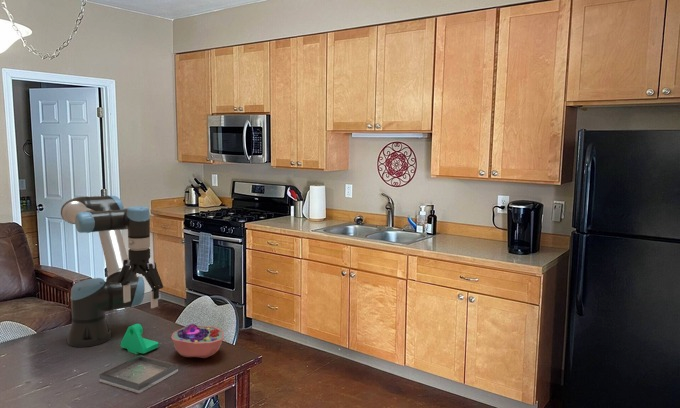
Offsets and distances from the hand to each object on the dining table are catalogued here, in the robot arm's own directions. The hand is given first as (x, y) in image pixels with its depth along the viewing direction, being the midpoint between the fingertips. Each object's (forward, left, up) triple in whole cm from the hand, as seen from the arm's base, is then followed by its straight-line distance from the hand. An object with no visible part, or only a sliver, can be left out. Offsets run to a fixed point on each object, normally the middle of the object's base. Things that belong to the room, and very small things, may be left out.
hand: (140, 304), depth 184 cm
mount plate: (+17, -17, -17) cm, 29 cm away
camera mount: (0, 0, -18) cm, 18 cm away
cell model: (+23, +5, -17) cm, 29 cm away
